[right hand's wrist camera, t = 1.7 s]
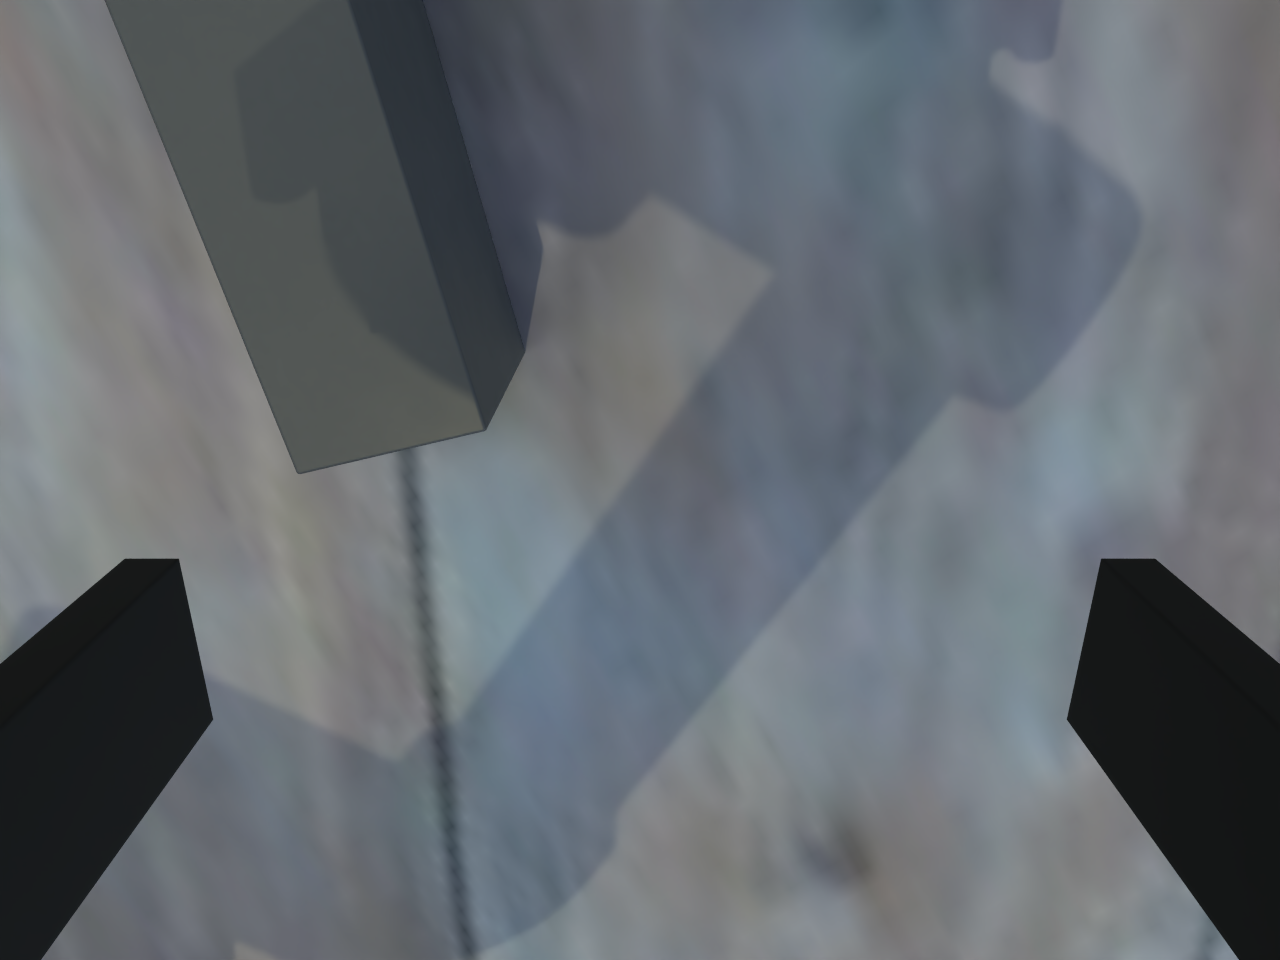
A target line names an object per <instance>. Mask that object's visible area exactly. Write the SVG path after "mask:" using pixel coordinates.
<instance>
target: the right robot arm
mask: <svg viewBox="0 0 1280 960" xmlns="http://www.w3.org/2000/svg"><path fill="white" fill-rule="evenodd" d="M212 720H213V717H212V712H211V707H210V703H209V698H208V693H207V689H206V684H205V679H204V675H203V670H202V665H201V661H200V656H199V651H198V647H197V642H196V637H195V633H194V628H193V623H192V618H191V614H190V609H189V604H188V600H187V595H186V590H185V586H184V581H183V576H182V572H181V567H180V562H179V559H124V560H123V561H122V562H120V563H119V564H118V565H117V566H116V567H115V568H113V569H112V570H111V571H110V572H109V573H107V574H106V575H105V576H104V577H103V578H102V579H100V580H99V581H98V582H97V583H96V584H94V585H93V586H92V587H91V588H90V589H89V590H87V591H86V592H85V593H84V594H83V595H81V596H80V597H79V598H78V599H77V600H76V601H74V602H73V603H72V604H71V605H70V606H68V607H67V608H66V609H65V610H64V611H62V612H61V613H60V614H59V615H58V616H57V617H55V618H54V619H53V620H52V621H51V622H49V623H48V624H47V625H46V626H45V627H44V628H42V629H41V630H40V631H39V632H38V633H36V634H35V635H34V636H33V637H32V638H31V639H29V640H28V641H27V642H26V643H25V644H23V645H22V646H21V647H20V648H19V649H17V650H16V651H15V652H14V653H13V654H12V655H10V656H9V657H8V658H7V659H6V660H4V661H3V662H2V663H1V664H0V960H41V959H42V958H43V956H44V955H45V953H46V952H47V951H48V949H49V948H50V946H51V945H52V944H53V942H54V941H55V939H56V938H57V937H58V935H59V934H60V932H61V931H62V930H63V928H64V927H65V925H66V924H67V923H68V921H69V920H70V918H71V917H72V916H73V914H74V913H75V911H76V910H77V909H78V907H79V906H80V905H81V903H82V902H83V900H84V899H85V898H86V896H87V895H88V893H89V892H90V891H91V889H92V888H93V886H94V885H95V884H96V882H97V881H98V879H99V878H100V877H101V875H102V874H103V872H104V871H105V870H106V868H107V867H108V865H109V864H110V863H111V861H112V860H113V858H114V857H115V856H116V854H117V853H118V851H119V850H120V849H121V847H122V846H123V845H124V843H125V842H126V840H127V839H128V838H129V836H130V835H131V833H132V832H133V831H134V829H135V828H136V826H137V825H138V824H139V822H140V821H141V819H142V818H143V817H144V815H145V814H146V812H147V811H148V810H149V808H150V807H151V805H152V804H153V803H154V801H155V800H156V798H157V797H158V796H159V794H160V793H161V791H162V790H163V789H164V787H165V786H166V784H167V783H168V782H169V780H170V779H171V778H172V776H173V775H174V773H175V772H176V771H177V769H178V768H179V766H180V765H181V764H182V762H183V761H184V759H185V758H186V757H187V755H188V754H189V752H190V751H191V750H192V748H193V747H194V745H195V744H196V743H197V741H198V740H199V738H200V737H201V736H202V734H203V733H204V731H205V730H206V729H207V727H208V726H209V724H210V723H211V722H212ZM1067 720H1068V722H1069V723H1070V724H1071V726H1072V727H1073V729H1074V730H1075V731H1076V733H1077V734H1078V736H1079V737H1080V738H1081V740H1082V741H1083V743H1084V744H1085V745H1086V747H1087V748H1088V750H1089V751H1090V752H1091V754H1092V755H1093V757H1094V758H1095V759H1096V761H1097V762H1098V764H1099V765H1100V766H1101V768H1102V769H1103V771H1104V772H1105V773H1106V775H1107V776H1108V778H1109V779H1110V780H1111V782H1112V783H1113V784H1114V786H1115V787H1116V789H1117V790H1118V791H1119V793H1120V794H1121V796H1122V797H1123V798H1124V800H1125V801H1126V803H1127V804H1128V805H1129V807H1130V808H1131V810H1132V811H1133V812H1134V814H1135V815H1136V817H1137V818H1138V819H1139V821H1140V822H1141V824H1142V825H1143V826H1144V828H1145V829H1146V831H1147V832H1148V833H1149V835H1150V836H1151V838H1152V839H1153V840H1154V842H1155V843H1156V845H1157V846H1158V847H1159V849H1160V850H1161V851H1162V853H1163V854H1164V856H1165V857H1166V858H1167V860H1168V861H1169V863H1170V864H1171V865H1172V867H1173V868H1174V870H1175V871H1176V872H1177V874H1178V875H1179V877H1180V878H1181V879H1182V881H1183V882H1184V884H1185V885H1186V886H1187V888H1188V889H1189V891H1190V892H1191V893H1192V895H1193V896H1194V898H1195V899H1196V900H1197V902H1198V903H1199V905H1200V906H1201V907H1202V909H1203V910H1204V911H1205V913H1206V914H1207V916H1208V917H1209V918H1210V920H1211V921H1212V923H1213V924H1214V925H1215V927H1216V928H1217V930H1218V931H1219V932H1220V934H1221V935H1222V937H1223V938H1224V939H1225V941H1226V942H1227V944H1228V945H1229V946H1230V948H1231V949H1232V951H1233V952H1234V953H1235V955H1236V956H1237V958H1238V959H1239V960H1280V664H1279V663H1278V662H1277V661H1276V660H1274V659H1273V658H1272V657H1271V656H1270V655H1268V654H1267V653H1266V652H1265V651H1264V650H1263V649H1261V648H1260V647H1259V646H1258V645H1257V644H1255V643H1254V642H1253V641H1252V640H1251V639H1249V638H1248V637H1247V636H1246V635H1245V634H1244V633H1242V632H1241V631H1240V630H1239V629H1238V628H1236V627H1235V626H1234V625H1233V624H1232V623H1231V622H1229V621H1228V620H1227V619H1226V618H1225V617H1223V616H1222V615H1221V614H1220V613H1219V612H1218V611H1216V610H1215V609H1214V608H1213V607H1212V606H1210V605H1209V604H1208V603H1207V602H1206V601H1204V600H1203V599H1202V598H1201V597H1200V596H1199V595H1197V594H1196V593H1195V592H1194V591H1193V590H1191V589H1190V588H1189V587H1188V586H1187V585H1186V584H1184V583H1183V582H1182V581H1181V580H1180V579H1178V578H1177V577H1176V576H1175V575H1174V574H1173V573H1171V572H1170V571H1169V570H1168V569H1167V568H1165V567H1164V566H1163V565H1162V564H1161V563H1160V562H1158V561H1157V560H1156V559H1101V562H1100V567H1099V572H1098V576H1097V581H1096V586H1095V590H1094V595H1093V600H1092V604H1091V609H1090V614H1089V618H1088V623H1087V628H1086V633H1085V637H1084V642H1083V647H1082V651H1081V656H1080V661H1079V665H1078V670H1077V675H1076V679H1075V684H1074V689H1073V693H1072V698H1071V703H1070V707H1069V712H1068V717H1067Z"/></svg>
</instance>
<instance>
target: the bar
mask: <svg viewBox="0 0 1280 960" xmlns="http://www.w3.org/2000/svg"><path fill="white" fill-rule="evenodd" d="M105 2H106V4H107V7H108V9H109V12H110V14H111V17H112V19H113V22H114V24H115V27H116V29H117V31H118V34H119V36H120V39H121V41H122V44H123V46H124V49H125V51H126V54H127V56H128V59H129V61H130V63H131V66H132V68H133V71H134V73H135V76H136V78H137V81H138V83H139V86H140V88H141V90H142V93H143V95H144V98H145V100H146V103H147V105H148V108H149V110H150V113H151V115H152V118H153V120H154V122H155V125H156V127H157V130H158V132H159V135H160V137H161V140H162V142H163V145H164V147H165V150H166V152H167V154H168V157H169V159H170V162H171V164H172V167H173V169H174V172H175V174H176V177H177V179H178V181H179V184H180V186H181V189H182V191H183V194H184V196H185V199H186V201H187V204H188V206H189V209H190V211H191V213H192V216H193V218H194V221H195V223H196V226H197V228H198V231H199V233H200V236H201V238H202V241H203V243H204V245H205V248H206V250H207V253H208V255H209V258H210V260H211V263H212V265H213V268H214V270H215V272H216V275H217V277H218V280H219V282H220V285H221V287H222V290H223V292H224V295H225V297H226V300H227V302H228V304H229V307H230V309H231V312H232V314H233V317H234V319H235V322H236V324H237V327H238V329H239V332H240V334H241V336H242V339H243V341H244V344H245V346H246V349H247V351H248V354H249V356H250V359H251V361H252V363H253V366H254V368H255V371H256V373H257V376H258V378H259V381H260V383H261V386H262V388H263V391H264V393H265V395H266V398H267V400H268V403H269V405H270V408H271V410H272V413H273V415H274V418H275V420H276V423H277V425H278V427H279V430H280V432H281V435H282V437H283V440H284V442H285V445H286V447H287V450H288V452H289V454H290V457H291V459H292V462H293V464H294V467H295V469H296V472H297V473H298V474H303V473H307V472H311V471H315V470H320V469H324V468H328V467H333V466H337V465H341V464H345V463H350V462H354V461H358V460H363V459H367V458H371V457H375V456H380V455H384V454H388V453H392V452H397V451H401V450H405V449H410V448H414V447H418V446H422V445H427V444H431V443H435V442H440V441H444V440H448V439H452V438H457V437H461V436H465V435H470V434H474V433H478V432H482V431H485V430H486V429H487V427H488V425H489V423H490V421H491V419H492V417H493V415H494V413H495V411H496V409H497V407H498V405H499V403H500V401H501V399H502V397H503V395H504V393H505V391H506V389H507V387H508V385H509V383H510V381H511V379H512V377H513V375H514V373H515V371H516V369H517V367H518V365H519V363H520V361H521V359H522V357H523V355H524V353H525V350H524V347H523V343H522V340H521V337H520V333H519V330H518V326H517V323H516V320H515V316H514V313H513V309H512V306H511V302H510V299H509V296H508V292H507V289H506V285H505V282H504V278H503V275H502V272H501V268H500V265H499V261H498V258H497V254H496V251H495V248H494V244H493V241H492V237H491V234H490V230H489V227H488V224H487V220H486V217H485V213H484V210H483V206H482V203H481V200H480V196H479V193H478V189H477V186H476V182H475V179H474V176H473V172H472V169H471V165H470V162H469V158H468V155H467V152H466V148H465V145H464V141H463V138H462V134H461V131H460V128H459V124H458V121H457V117H456V114H455V110H454V107H453V104H452V100H451V97H450V93H449V90H448V86H447V83H446V80H445V76H444V73H443V69H442V66H441V62H440V59H439V56H438V52H437V49H436V45H435V42H434V38H433V35H432V32H431V28H430V25H429V21H428V18H427V14H426V11H425V8H424V4H423V1H422V0H105Z"/></svg>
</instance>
